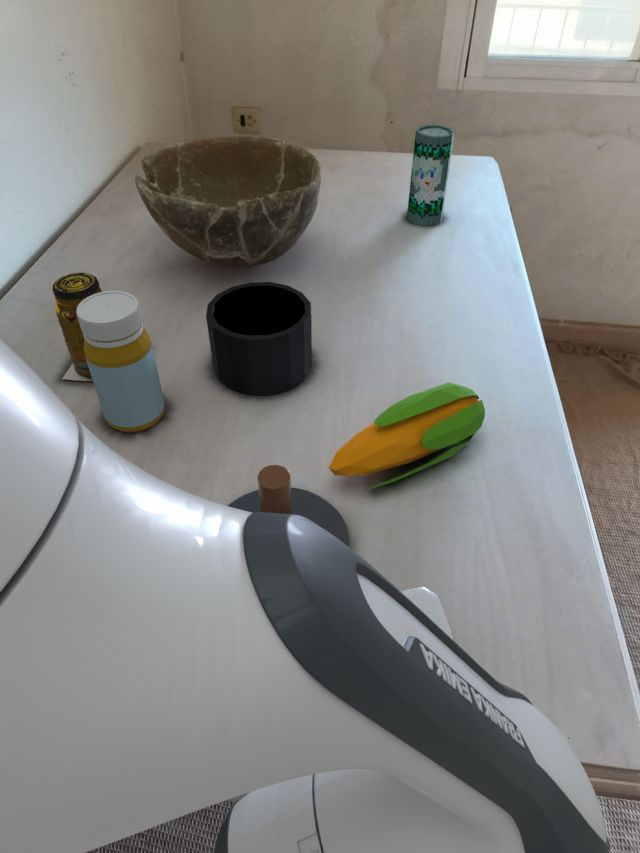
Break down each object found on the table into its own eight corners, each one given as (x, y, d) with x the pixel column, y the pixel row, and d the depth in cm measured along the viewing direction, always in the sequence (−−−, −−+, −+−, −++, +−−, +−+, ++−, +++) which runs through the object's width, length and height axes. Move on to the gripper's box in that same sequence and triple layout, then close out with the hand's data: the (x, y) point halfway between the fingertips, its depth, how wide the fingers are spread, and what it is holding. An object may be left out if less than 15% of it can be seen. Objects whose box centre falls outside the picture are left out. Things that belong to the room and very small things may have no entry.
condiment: (83, 346, 84) (58, 266, 76) (145, 350, 84) (126, 269, 76) (62, 380, 79) (32, 297, 71) (127, 384, 78) (105, 302, 70)
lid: (278, 640, 54) (272, 572, 47) (178, 551, 60) (160, 479, 53) (377, 544, 61) (385, 473, 54) (279, 474, 68) (274, 402, 61)
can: (404, 222, 112) (413, 134, 102) (411, 208, 116) (420, 122, 106) (437, 227, 111) (450, 139, 101) (444, 213, 115) (456, 126, 105)
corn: (509, 390, 66) (352, 464, 58) (498, 445, 71) (352, 519, 63) (461, 358, 71) (310, 422, 63) (453, 411, 76) (313, 476, 68)
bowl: (136, 302, 92) (114, 203, 82) (163, 221, 112) (148, 133, 102) (323, 300, 93) (324, 201, 83) (318, 219, 113) (318, 132, 102)
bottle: (122, 444, 71) (89, 334, 61) (95, 412, 75) (60, 303, 64) (176, 417, 74) (154, 309, 64) (148, 388, 78) (122, 281, 68)
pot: (261, 410, 75) (257, 352, 69) (194, 366, 81) (184, 310, 76) (331, 363, 82) (332, 307, 76) (264, 326, 88) (260, 271, 82)
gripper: (494, 683, 42) (416, 523, 52) (186, 772, 38) (164, 580, 47) (477, 721, 46) (408, 567, 56) (199, 805, 42) (176, 623, 52)
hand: (294, 574), depth 52 cm, fingers open, 8 cm apart
